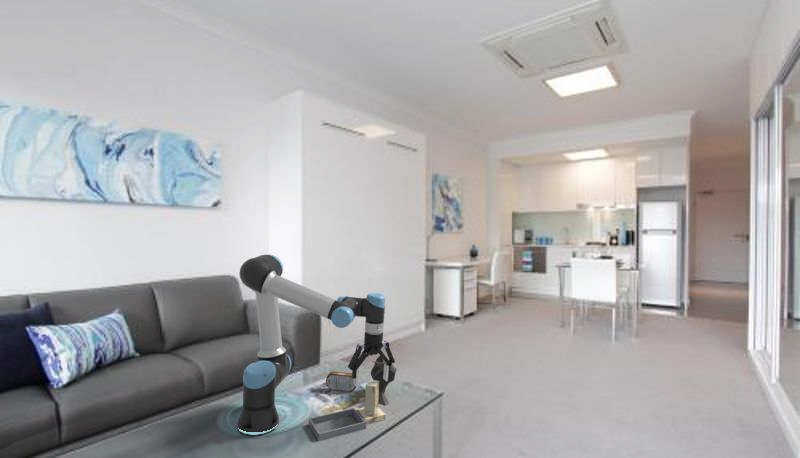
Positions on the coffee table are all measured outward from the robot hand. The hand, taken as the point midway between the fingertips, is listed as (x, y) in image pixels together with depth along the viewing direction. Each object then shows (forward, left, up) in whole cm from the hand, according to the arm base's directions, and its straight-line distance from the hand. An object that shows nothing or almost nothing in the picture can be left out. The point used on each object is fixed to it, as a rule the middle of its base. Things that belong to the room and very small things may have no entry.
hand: (370, 382), depth 167 cm
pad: (0, 0, -14) cm, 14 cm away
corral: (-15, -1, -14) cm, 20 cm away
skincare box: (+1, 0, -13) cm, 13 cm away
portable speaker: (-2, +27, -15) cm, 30 cm away
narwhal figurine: (+13, +15, -15) cm, 25 cm away
